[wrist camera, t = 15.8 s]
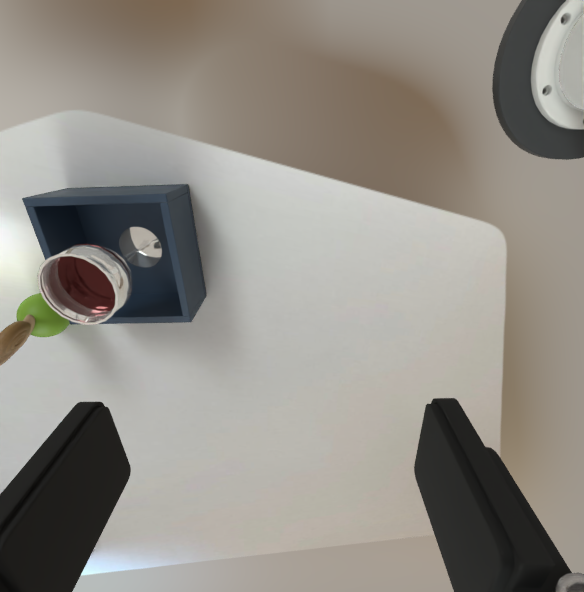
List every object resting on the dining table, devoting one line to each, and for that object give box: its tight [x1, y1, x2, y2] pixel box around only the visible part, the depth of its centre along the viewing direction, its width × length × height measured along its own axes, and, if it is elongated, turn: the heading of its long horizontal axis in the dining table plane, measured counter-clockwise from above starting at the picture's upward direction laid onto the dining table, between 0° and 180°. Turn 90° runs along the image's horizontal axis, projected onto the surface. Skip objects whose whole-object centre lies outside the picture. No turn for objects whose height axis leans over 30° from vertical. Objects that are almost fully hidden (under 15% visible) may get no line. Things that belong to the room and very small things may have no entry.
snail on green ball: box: [0, 293, 69, 365], centre depth 38 cm, size 5×6×12 cm
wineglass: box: [37, 227, 162, 325], centre depth 33 cm, size 7×7×12 cm
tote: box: [22, 184, 206, 324], centre depth 36 cm, size 14×14×7 cm
